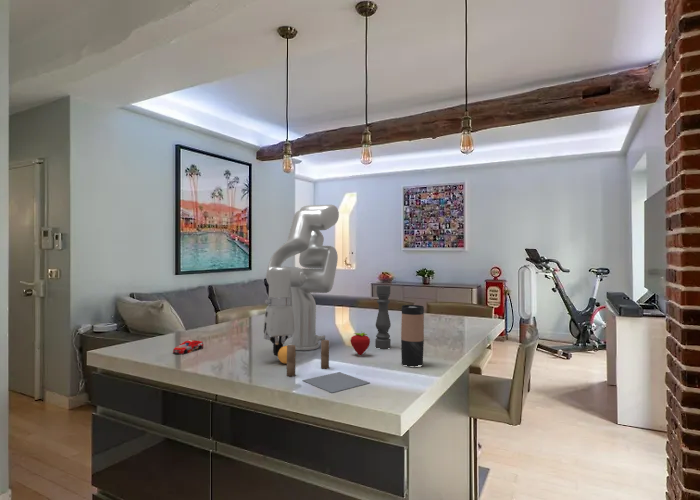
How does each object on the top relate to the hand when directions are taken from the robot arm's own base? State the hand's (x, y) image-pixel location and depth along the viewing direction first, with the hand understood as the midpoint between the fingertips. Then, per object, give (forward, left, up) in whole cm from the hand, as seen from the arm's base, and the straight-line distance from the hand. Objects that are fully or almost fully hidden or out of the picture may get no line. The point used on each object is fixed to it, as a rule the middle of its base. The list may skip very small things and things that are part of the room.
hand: (277, 355), depth 144 cm
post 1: (+6, +17, -2) cm, 18 cm away
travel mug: (-33, +32, -2) cm, 47 cm away
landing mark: (-1, +31, -2) cm, 31 cm away
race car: (+19, -35, -3) cm, 39 cm away
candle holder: (-44, +7, -2) cm, 45 cm away
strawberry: (-28, +11, -2) cm, 31 cm away
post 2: (-7, +17, -2) cm, 19 cm away
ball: (-1, +5, +1) cm, 5 cm away
